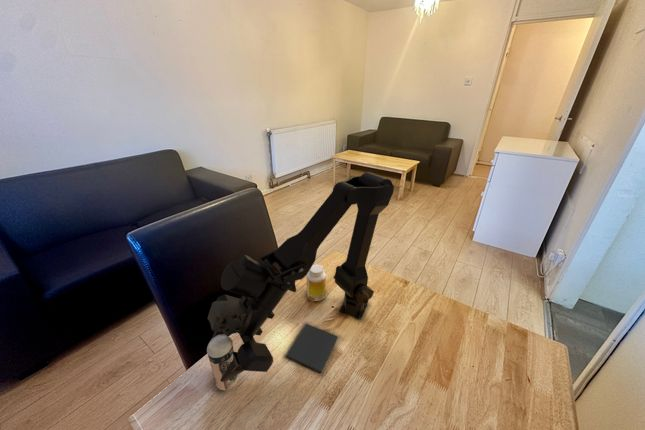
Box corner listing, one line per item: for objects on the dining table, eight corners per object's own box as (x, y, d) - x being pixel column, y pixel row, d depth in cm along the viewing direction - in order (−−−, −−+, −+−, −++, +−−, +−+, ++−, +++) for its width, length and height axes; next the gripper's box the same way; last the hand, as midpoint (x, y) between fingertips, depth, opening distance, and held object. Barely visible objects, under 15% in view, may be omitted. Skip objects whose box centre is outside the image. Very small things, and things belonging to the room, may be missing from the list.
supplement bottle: (328, 298, 78) (329, 271, 73) (311, 304, 76) (311, 276, 71) (320, 286, 83) (320, 260, 78) (304, 291, 80) (303, 265, 76)
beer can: (232, 394, 54) (223, 356, 48) (211, 389, 54) (200, 351, 49) (243, 371, 58) (236, 334, 52) (223, 367, 59) (214, 330, 53)
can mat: (306, 325, 69) (306, 323, 69) (337, 337, 66) (337, 336, 66) (286, 356, 61) (286, 355, 61) (320, 373, 58) (321, 371, 58)
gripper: (217, 264, 54) (170, 325, 54) (250, 325, 41) (189, 408, 40) (256, 279, 62) (216, 333, 61) (295, 335, 49) (244, 405, 48)
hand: (216, 364), depth 52 cm, fingers open, 8 cm apart
